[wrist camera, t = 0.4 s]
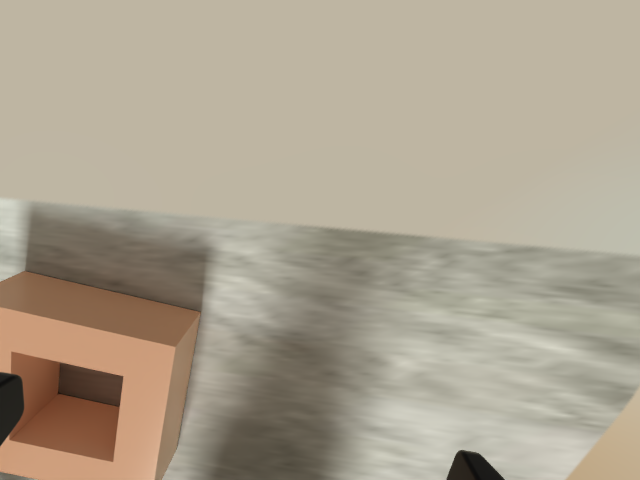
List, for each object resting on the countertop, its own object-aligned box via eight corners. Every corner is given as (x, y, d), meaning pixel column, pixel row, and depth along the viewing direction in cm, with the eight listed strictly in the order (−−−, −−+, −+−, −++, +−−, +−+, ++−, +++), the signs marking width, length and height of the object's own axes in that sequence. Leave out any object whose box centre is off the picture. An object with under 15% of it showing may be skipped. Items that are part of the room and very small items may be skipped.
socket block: (176, 448, 26) (150, 502, 22) (20, 415, 26) (-35, 464, 22) (200, 312, 23) (175, 347, 19) (24, 271, 23) (-38, 298, 19)
